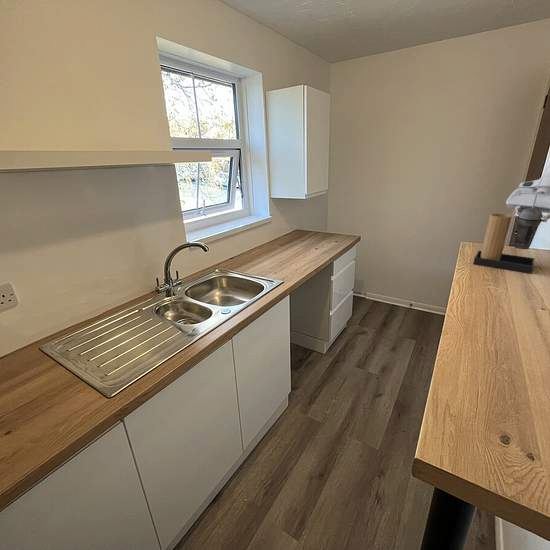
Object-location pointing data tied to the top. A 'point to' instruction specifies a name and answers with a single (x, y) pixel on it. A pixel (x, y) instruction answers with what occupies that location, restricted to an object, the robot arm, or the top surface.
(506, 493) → the top surface
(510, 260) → the tray
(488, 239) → the wooden cylinder
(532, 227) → the beverage cup
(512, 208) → the robot arm
